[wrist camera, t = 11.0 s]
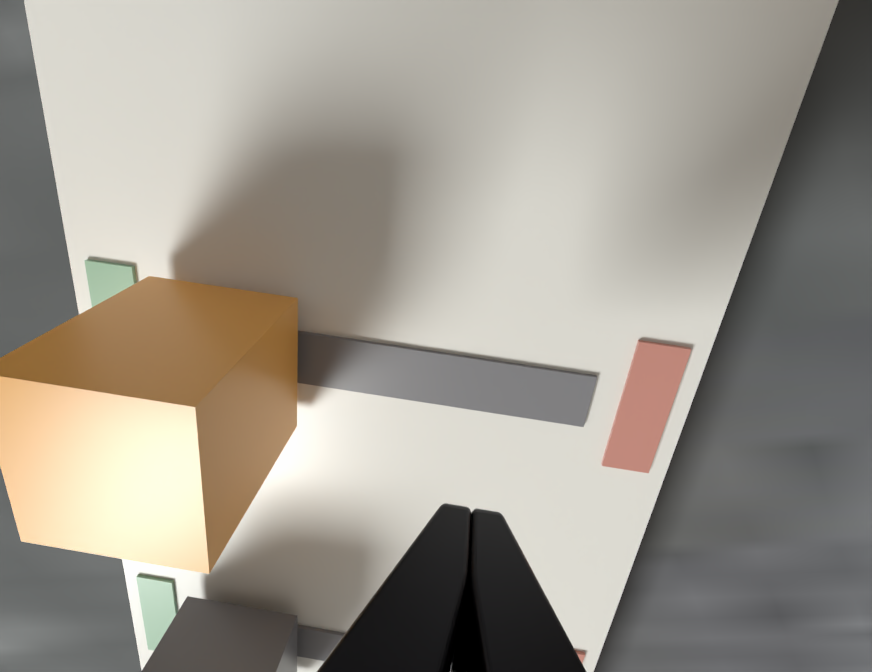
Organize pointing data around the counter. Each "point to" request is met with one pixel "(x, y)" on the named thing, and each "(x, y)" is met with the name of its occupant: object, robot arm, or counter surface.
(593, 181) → the breaker panel
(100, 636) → the counter surface
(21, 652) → the counter surface
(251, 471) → the orange matte cube
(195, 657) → the switch
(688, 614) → the counter surface
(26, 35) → the counter surface
